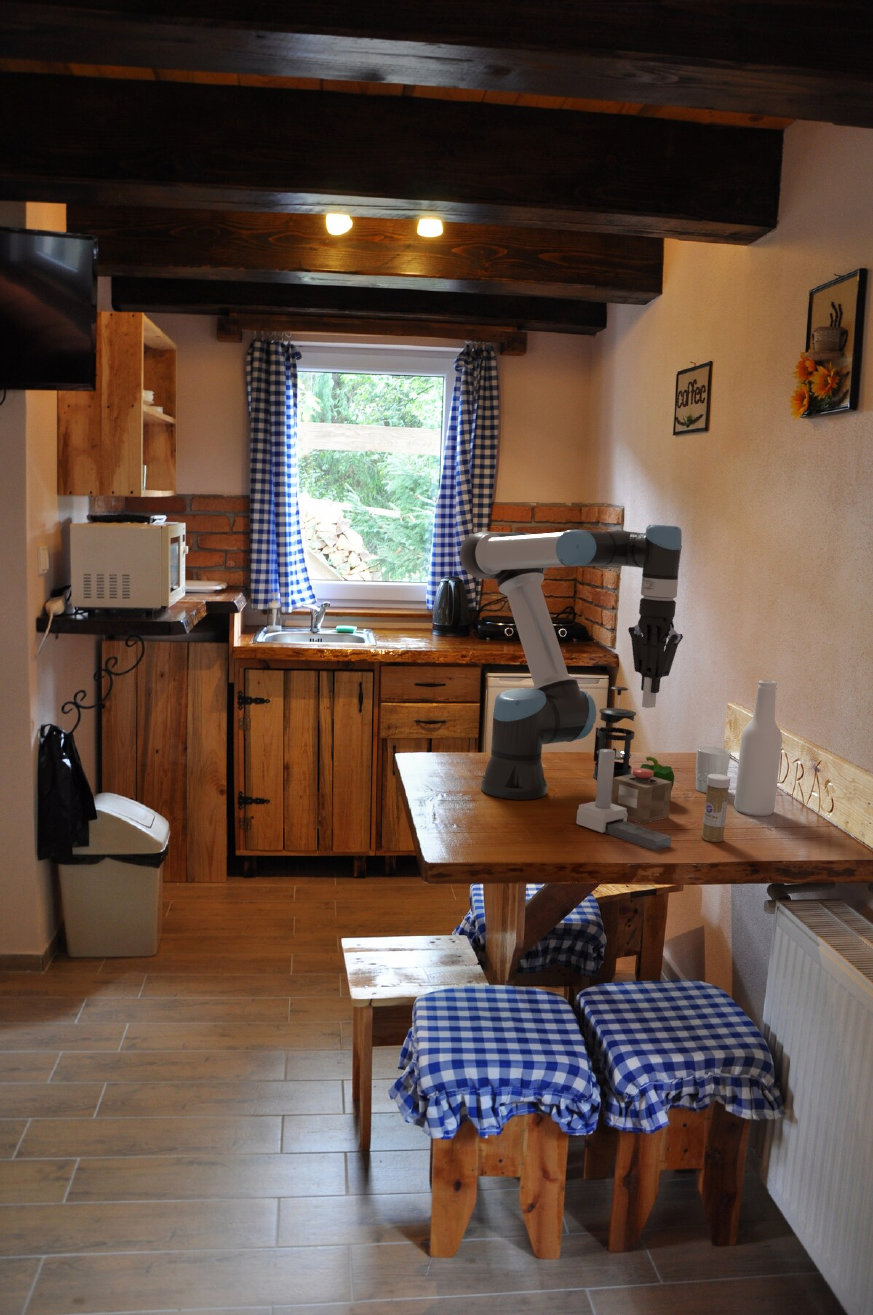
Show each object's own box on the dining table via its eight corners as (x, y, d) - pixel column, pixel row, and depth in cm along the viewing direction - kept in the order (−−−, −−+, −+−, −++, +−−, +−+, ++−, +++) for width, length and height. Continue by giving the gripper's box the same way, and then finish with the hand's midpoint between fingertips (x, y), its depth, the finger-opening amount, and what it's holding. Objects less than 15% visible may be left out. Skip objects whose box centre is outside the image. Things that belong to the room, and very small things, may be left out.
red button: (625, 805, 235) (628, 769, 234) (638, 802, 238) (641, 767, 237) (641, 810, 232) (645, 774, 231) (654, 807, 235) (657, 772, 234)
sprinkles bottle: (697, 839, 221) (703, 775, 219) (707, 834, 225) (713, 772, 222) (718, 844, 218) (724, 780, 216) (727, 839, 222) (734, 776, 220)
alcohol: (730, 804, 248) (743, 676, 243) (768, 807, 248) (782, 679, 243) (738, 815, 239) (752, 683, 235) (778, 818, 239) (793, 686, 234)
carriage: (576, 823, 226) (582, 749, 223) (600, 817, 231) (606, 745, 228) (602, 832, 220) (608, 756, 218) (626, 826, 225) (632, 752, 223)
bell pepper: (679, 801, 249) (683, 759, 247) (660, 807, 243) (664, 764, 241) (648, 792, 254) (651, 751, 253) (629, 798, 248) (632, 756, 247)
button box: (609, 813, 236) (612, 777, 234) (636, 806, 242) (639, 772, 240) (642, 824, 229) (645, 787, 228) (668, 817, 235) (671, 782, 234)
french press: (641, 782, 263) (649, 690, 260) (612, 786, 258) (620, 692, 255) (608, 770, 273) (616, 681, 269) (580, 773, 268) (587, 683, 264)
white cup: (723, 787, 263) (727, 747, 261) (729, 796, 255) (733, 755, 254) (691, 784, 264) (694, 745, 262) (695, 793, 256) (699, 752, 254)
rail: (578, 823, 227) (579, 814, 227) (594, 820, 230) (595, 811, 230) (655, 850, 212) (656, 841, 212) (670, 846, 215) (671, 836, 215)
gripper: (622, 595, 230) (613, 702, 234) (672, 602, 221) (662, 714, 224) (644, 594, 235) (635, 699, 239) (694, 601, 226) (683, 711, 229)
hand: (648, 706), depth 232 cm, fingers closed
